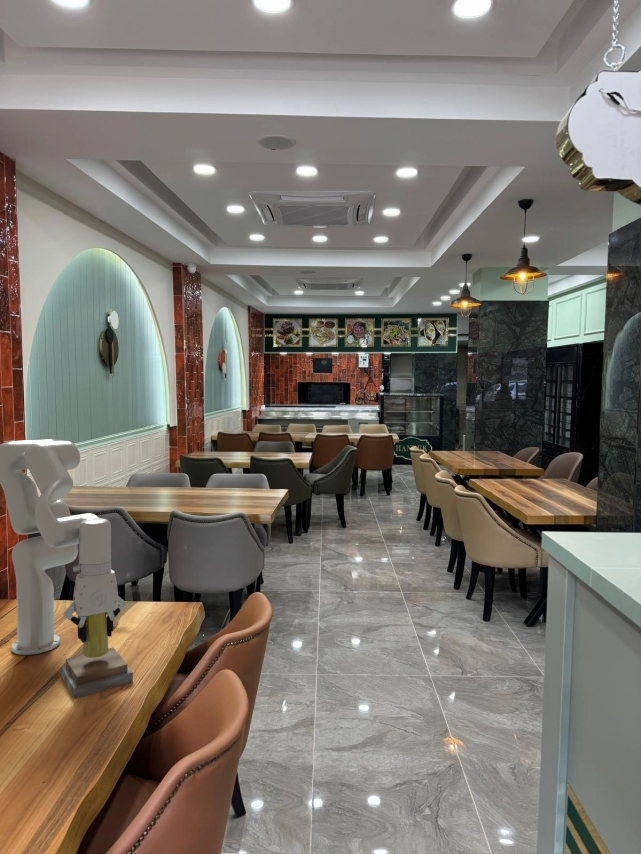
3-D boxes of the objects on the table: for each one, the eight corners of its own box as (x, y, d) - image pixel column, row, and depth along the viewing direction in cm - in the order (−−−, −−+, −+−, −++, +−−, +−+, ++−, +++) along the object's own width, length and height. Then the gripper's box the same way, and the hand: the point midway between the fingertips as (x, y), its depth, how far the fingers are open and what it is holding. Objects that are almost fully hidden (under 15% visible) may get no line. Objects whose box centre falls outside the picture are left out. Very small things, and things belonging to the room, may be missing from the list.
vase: (93, 660, 140) (92, 603, 140) (77, 654, 144) (77, 599, 143) (113, 651, 146) (113, 596, 145) (98, 645, 149) (98, 592, 148)
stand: (61, 675, 146) (60, 658, 146) (116, 661, 155) (116, 645, 154) (74, 698, 135) (73, 680, 135) (132, 682, 143) (132, 664, 143)
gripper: (62, 577, 135) (62, 651, 136) (134, 566, 146) (134, 634, 147) (55, 569, 142) (56, 640, 142) (124, 559, 152) (125, 625, 153)
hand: (95, 637), depth 144 cm, fingers closed on vase, 5 cm apart
